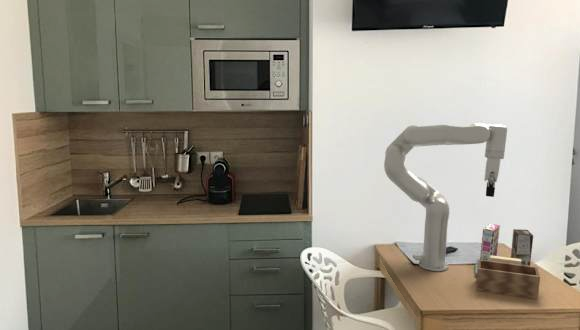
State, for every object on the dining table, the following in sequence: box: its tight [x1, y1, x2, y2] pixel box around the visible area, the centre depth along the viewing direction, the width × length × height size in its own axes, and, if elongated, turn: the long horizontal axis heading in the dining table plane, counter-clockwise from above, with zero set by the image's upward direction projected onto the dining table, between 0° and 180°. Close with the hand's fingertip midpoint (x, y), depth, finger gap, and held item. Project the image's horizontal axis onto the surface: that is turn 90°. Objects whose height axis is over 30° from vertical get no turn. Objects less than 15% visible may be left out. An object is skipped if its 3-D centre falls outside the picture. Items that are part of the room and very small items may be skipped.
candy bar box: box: [479, 223, 501, 261], centre depth 228 cm, size 11×5×16 cm, turn 144°
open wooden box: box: [475, 258, 541, 300], centre depth 199 cm, size 22×11×9 cm, turn 69°
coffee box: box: [510, 228, 534, 266], centre depth 222 cm, size 9×6×16 cm
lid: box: [474, 255, 522, 277], centre depth 212 cm, size 23×12×8 cm, turn 70°
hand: (489, 193), depth 214 cm, fingers open, 9 cm apart
